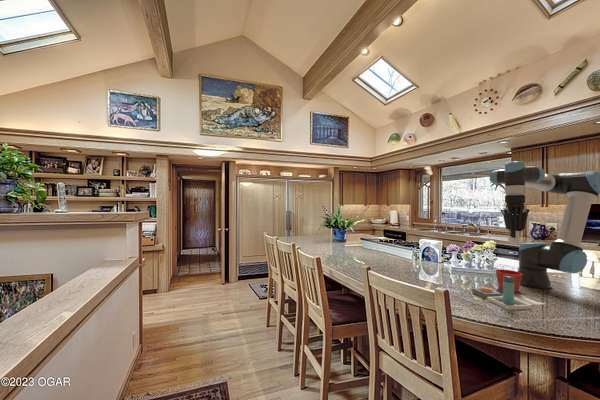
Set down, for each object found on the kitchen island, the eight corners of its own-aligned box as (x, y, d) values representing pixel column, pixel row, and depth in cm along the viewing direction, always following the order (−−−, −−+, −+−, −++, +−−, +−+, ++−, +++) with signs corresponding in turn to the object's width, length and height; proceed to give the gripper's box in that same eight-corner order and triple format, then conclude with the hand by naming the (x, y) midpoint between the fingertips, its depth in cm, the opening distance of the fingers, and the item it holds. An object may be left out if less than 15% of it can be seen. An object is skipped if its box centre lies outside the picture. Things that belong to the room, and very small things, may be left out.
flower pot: (512, 287, 143) (512, 269, 143) (527, 294, 132) (527, 275, 132) (490, 286, 144) (491, 268, 144) (504, 293, 133) (504, 274, 133)
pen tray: (509, 301, 123) (509, 296, 123) (531, 310, 113) (531, 305, 113) (487, 301, 122) (487, 296, 122) (507, 311, 111) (507, 306, 111)
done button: (486, 294, 131) (487, 286, 131) (494, 297, 126) (494, 289, 126) (478, 294, 130) (478, 287, 130) (485, 297, 126) (485, 290, 126)
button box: (487, 294, 133) (487, 287, 133) (501, 299, 125) (501, 293, 125) (472, 294, 132) (472, 288, 132) (485, 300, 124) (485, 293, 124)
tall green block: (508, 302, 119) (508, 275, 120) (516, 306, 116) (516, 278, 116) (500, 303, 119) (501, 275, 119) (508, 306, 115) (508, 278, 115)
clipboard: (521, 295, 131) (521, 293, 131) (550, 306, 117) (550, 304, 117) (498, 296, 130) (498, 293, 130) (525, 307, 116) (525, 304, 116)
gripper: (520, 194, 132) (521, 242, 132) (495, 195, 131) (496, 243, 131) (535, 194, 124) (535, 245, 125) (508, 194, 123) (509, 246, 123)
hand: (515, 244), depth 128 cm, fingers closed
